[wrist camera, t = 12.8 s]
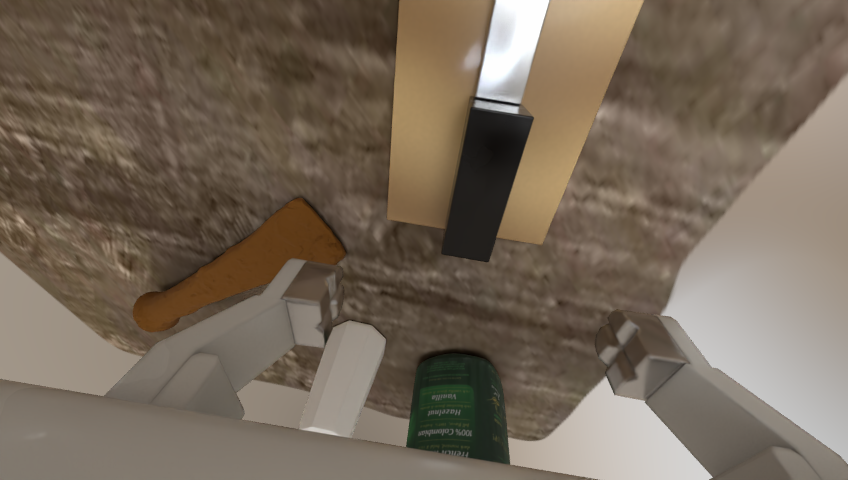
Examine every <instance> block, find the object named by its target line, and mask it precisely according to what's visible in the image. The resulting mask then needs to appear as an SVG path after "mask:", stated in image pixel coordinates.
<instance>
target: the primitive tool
mask: <svg viewBox="0 0 848 480" xmlns="http://www.w3.org/2000/svg"><path fill="white" fill-rule="evenodd" d="M345 255H346V251H345V250H344V248H343V246H342V244H341V243H340V241H339V240H338V239H337V238H336V237H335V236H334V234H333V233H332V231H331V229H330V228H329V227H328V226H327V225H326V224H325V222H324V221H323V220H322V219H321V218H320V217H319V216H318V214H317V213H316V212H315V211H314V210H313V209H312V208H311V207H310V206H309V205H308V204H307V203H306V202H305V200H303V199H302V198H296V199H295V200H293V201H291V202H289V203H287V204H286V205H285V206H284V207H283V208H281V209H280V210H278V211H276V212H275V214H273V215H272V216H271V217H270V218H269V219H267V220H266V221H265V222H264V223H263V224H262V225H261V226H260V227H259V228H258V229H257V230H256V231H255V232H254V233H252V234H251V235H250V236H249V237H247V238H246V239H244V240H243V241H242V242H240V243H239V244H237V245H234V246H231V247H230V248H228V249H227V250H226V252H225V253H224V254H223V255H221V256H220V257H218V258H217V259H215V260H214V261H213V262H211V263H209V264H208V265H206V266H203V267H201V268H199V270H198V272H197V273H195V274H193V275H192V276H190V277H188V278H187V279H185V280H184V281H182V282H180V283H179V284H178V285H176V286H174V287H172V288H170V289H169V290H166V291H164V292H157V291H155V292H148V293H146V294H144V295H142V296H140V297H139V298H138V299H137V301H136V303H135V304H134V308H133V317H134V320H135V321H136V323H137V324H138V326H139V327H140V328H142V329H143V330H145V331H149V332H158V331H164V330H168V329H170V328H172V327H173V326H175V325H176V324H177V323H178V322H179V319H180V317H182V316H185V315H189V314H192V313H194V312H196V311H197V310H198V309H200V308H202V307H203V306H205V305H209V304H210V303H214V302H216V301H220V300H223V299H225V298H227V297H230V296H233V295H235V294H239V293H241V292H244V291H247V290H250V289H252V288H254V287H258V286H260V285H265V284H267V283H271V281H272V280H273V279H274V277H275V276H276V275H277V274H278V272H279V271H280V270H281V268H282V267H283V266H284V265H285V263H286V262H287V261H288V260H290V259H292V258H295V259H301V260H306V261H314V262H319V263H325V264H330V265H336V264H337V262H339V261H340V260H342V259H343V258H344V257H345Z"/></svg>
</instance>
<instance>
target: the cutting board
mask: <svg viewBox="0 0 848 480" xmlns="http://www.w3.org/2000/svg"><path fill="white" fill-rule="evenodd" d="M643 1H644V0H551V1H550V5H549V8H548V12H547V15H546V19H545V22H544V26H543V29H542V33H541V36H540V40H539V43H538V47H537V50H536V54H535V57H534V61H533V64H532V68H531V71H530V75H529V78H528V82H527V85H526V89H525V92H524V96H523V99H522V103H521V104H522V105H523V106H524V107H525V108H526V109H527V110H528V111H529V112H530V113H531V115H532V116H533V117H534V120H533V124H532V127H531V130H530V133H529V136H528V139H527V142H526V146H525V149H524V152H523V155H522V158H521V161H520V165H519V168H518V171H517V174H516V177H515V180H514V184H513V187H512V190H511V193H510V196H509V199H508V203H507V206H506V209H505V212H504V215H503V218H502V222H501V225H500V228H499V231H498V234H497V237H496V238H502V239H508V240H515V241H521V242H527V243H533V244H539V245H542V244H543V241H544V239H545V236H546V234H547V232H548V229H549V227H550V224H551V222H552V220H553V217H554V215H555V212H556V210H557V208H558V205H559V203H560V200H561V198H562V196H563V193H564V191H565V188H566V186H567V184H568V181H569V179H570V176H571V174H572V172H573V169H574V167H575V165H576V162H577V160H578V157H579V155H580V153H581V150H582V148H583V145H584V143H585V141H586V138H587V136H588V133H589V131H590V129H591V126H592V124H593V121H594V119H595V117H596V114H597V112H598V109H599V107H600V105H601V102H602V100H603V97H604V95H605V93H606V90H607V88H608V85H609V83H610V81H611V78H612V76H613V73H614V71H615V69H616V66H617V64H618V61H619V59H620V57H621V54H622V52H623V49H624V47H625V45H626V42H627V40H628V37H629V35H630V33H631V30H632V28H633V25H634V23H635V21H636V18H637V16H638V13H639V11H640V9H641V6H642V4H643ZM492 4H493V0H399V11H398V28H397V46H396V64H395V81H394V99H393V117H392V134H391V152H390V169H389V187H388V205H387V220H393V221H399V222H405V223H411V224H417V225H424V226H430V227H436V228H442V229H444V228H445V221H446V216H447V211H448V206H449V201H450V196H451V191H452V185H453V180H454V175H455V170H456V165H457V160H458V154H459V149H460V144H461V139H462V134H463V129H464V124H465V118H466V113H467V108H468V103H469V98H470V96H475V95H474V94H475V89H476V84H477V79H478V74H479V69H480V64H481V59H482V54H483V49H484V44H485V39H486V34H487V29H488V24H489V19H490V14H491V9H492Z"/></svg>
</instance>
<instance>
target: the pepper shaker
mask: <svg viewBox="0 0 848 480" xmlns="http://www.w3.org/2000/svg"><path fill="white" fill-rule="evenodd" d="M385 345H386V339H385V338H384V337H383V336H382V335H381V334H380V333H379V332H378V331H377V330H376V329H375V328H374V327H373V326H372V325H369V324H364V323H359V322H355V321H350V320H349V321H347V322H344V323H342V324H340V325H337V326H335V327H333V330H332V332H331V334H330V336H329V339H328V341H327V344H326V347H325V350H324V352H323V355H322V358H321V361H320V364H319V367H318V370H317V373H316V376H315V379H314V382H313V385H312V388H311V391H310V394H309V397H308V400H307V403H306V406H305V409H304V412H303V414H302V417H301V421H300V424H299V428H298V429H301V430H307V431H313V432H319V433H325V434H331V435H336V436H342V437H348V438H351V437H352V434H353V432H354V429H355V427H356V424H357V422H358V419H359V417H360V414H361V412H362V409H363V406H364V404H365V401H366V399H367V396H368V393H369V391H370V388H371V386H372V383H373V381H374V378H375V375H376V373H377V370H378V368H379V365H380V363H381V360H382V357H383V355H384V350H385Z"/></svg>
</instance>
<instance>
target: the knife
mask: <svg viewBox="0 0 848 480" xmlns="http://www.w3.org/2000/svg"><path fill="white" fill-rule="evenodd" d="M550 1H551V0H493V4H492V9H491V14H490V19H489V24H488V29H487V34H486V39H485V44H484V49H483V54H482V59H481V64H480V69H479V74H478V79H477V84H476V89H475V94H474V95H475V96H470V98H469V103H468V108H467V113H466V118H465V124H464V129H463V134H462V139H461V144H460V149H459V154H458V160H457V165H456V170H455V175H454V180H453V185H452V191H451V196H450V201H449V206H448V211H447V216H446V221H445V228H444V236H443V245H442V254H443V255H449V256H455V257H461V258H466V259H472V260H478V261H484V262H489V259H490V256H491V253H492V250H493V247H494V244H495V240H496V237H497V234H498V231H499V228H500V225H501V222H502V218H503V215H504V212H505V209H506V206H507V203H508V199H509V196H510V193H511V190H512V187H513V184H514V180H515V177H516V174H517V171H518V168H519V165H520V161H521V158H522V155H523V152H524V149H525V146H526V142H527V139H528V136H529V133H530V130H531V127H532V124H533V120H534V117H533V116H532V115H531V113H530V112H529V111H528V110H527V109H526V108H525V107H524V106H523V105H522V104H521V103H522V99H523V96H524V92H525V89H526V85H527V82H528V78H529V75H530V71H531V68H532V64H533V61H534V57H535V54H536V50H537V47H538V43H539V40H540V36H541V33H542V29H543V26H544V22H545V19H546V15H547V12H548V8H549V5H550Z"/></svg>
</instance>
